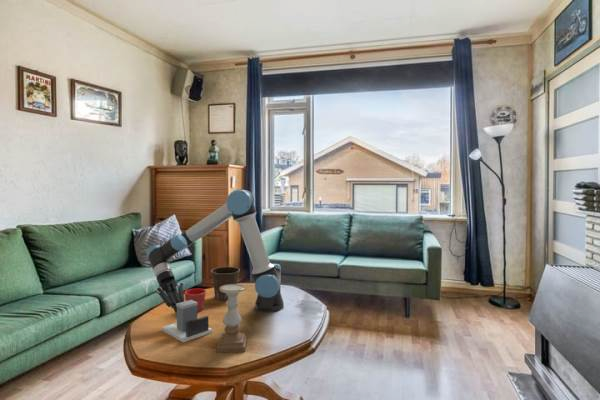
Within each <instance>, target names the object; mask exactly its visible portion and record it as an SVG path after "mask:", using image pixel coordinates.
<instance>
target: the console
mask: <svg viewBox="0 0 600 400" xmlns="http://www.w3.org/2000/svg"><path fill="white" fill-rule="evenodd" d="M161 331H163V332H164V333H166V334H167V335H169V336H171V337H173V338H174V339H176V340H178V341H179V342H181V343H186V342H189V341H192V340H195V339H197V338H201V337H203V336H206V335H209V334H212V333H213V328H211V327H209V316H208V315H204V316H202V317H197V319H194V320H191V321H188V322H186V331H181V330H179V329H177V322H174V323H171V324H167V325H164V326H161Z"/></svg>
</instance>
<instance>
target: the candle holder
mask: <svg viewBox="0 0 600 400" xmlns="http://www.w3.org/2000/svg"><path fill="white" fill-rule="evenodd" d="M219 290H220V291H221V292H223V293H226V295H227V296H228V300H226V302H225V305H226V307H227V311H226V313H225V314H224V316H223V320H222V323H223V325H224V326H225V327H224V332H225V333H222V334H221V336H220V337H219V340H218V343H217V346H216V353H217V354H218V353H220V354H221V353H226V354H227V353H245V352H246V349H247V343H248V339H247V337H248V336H247V335H245V333H244V332H240V331H241V327H240V324H241V323H242V316H241V315H240V312H238V309H237V308H238V306H239V304H240V302H239V300H238V298H237V297H238V296H239V294H240V293H241V292H244V291H245V290H246V286H245V285H243V284H240V283H237V284H227V285H223V286H221V287H220V288H219Z"/></svg>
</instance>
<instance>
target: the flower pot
mask: <svg viewBox="0 0 600 400" xmlns="http://www.w3.org/2000/svg"><path fill="white" fill-rule="evenodd" d="M206 292H207V290H206V289H205V288H191V289H186V290H185V291H184V299H185V300H184V301H188V300H193V301H196V302H198V305H197V313H199V312H202V311H203V309H204V306H205V305H204V304H205V300H206V294H207V293H206Z"/></svg>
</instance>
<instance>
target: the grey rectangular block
mask: <svg viewBox="0 0 600 400" xmlns="http://www.w3.org/2000/svg"><path fill="white" fill-rule="evenodd" d="M197 305H198V302H196V301H193V300H188V301H186V300H184V302H181V303H177V304H176V306H177V313H176V323H177V329H179V330H181V331H186V322H188V321H191V320H194V319H198V312H197Z"/></svg>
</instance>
